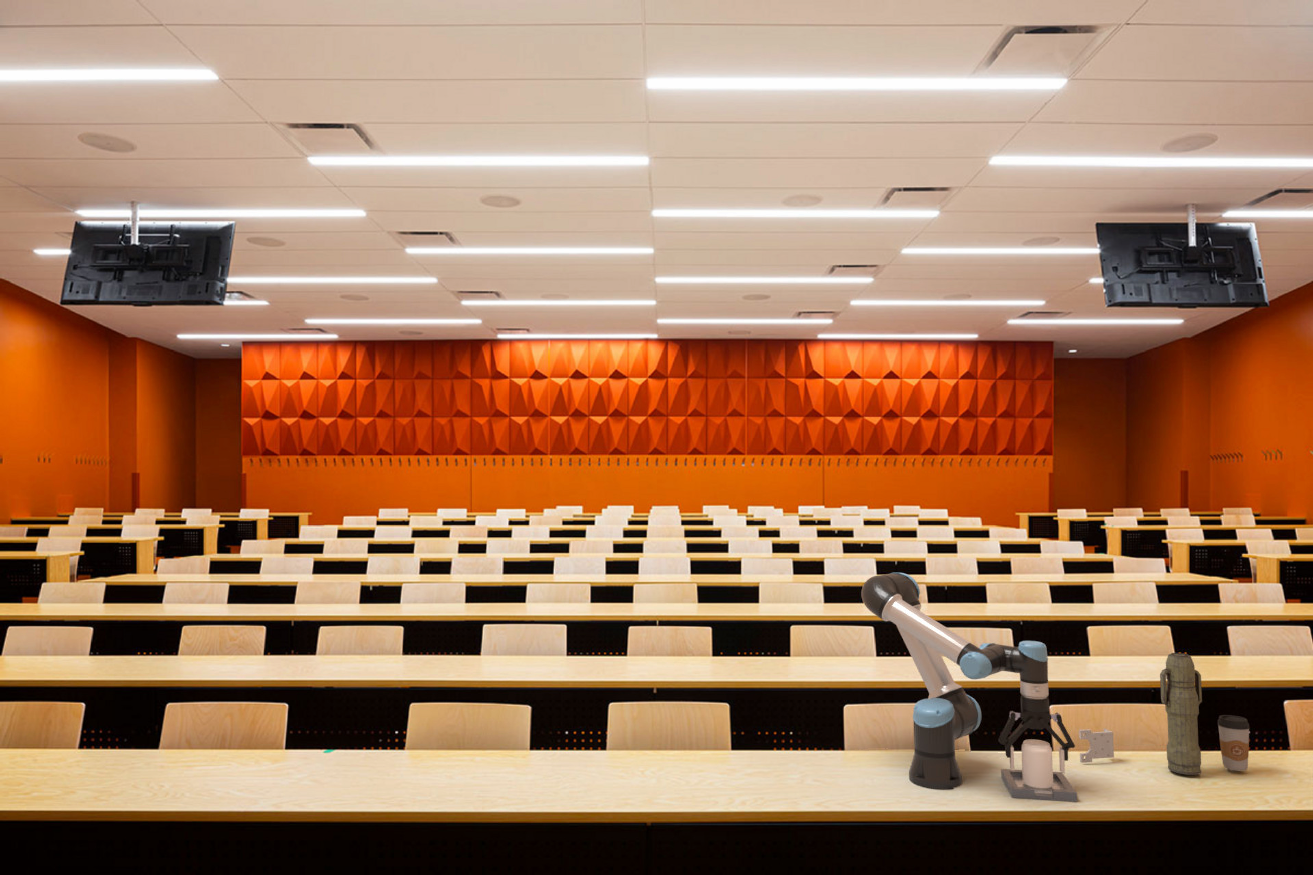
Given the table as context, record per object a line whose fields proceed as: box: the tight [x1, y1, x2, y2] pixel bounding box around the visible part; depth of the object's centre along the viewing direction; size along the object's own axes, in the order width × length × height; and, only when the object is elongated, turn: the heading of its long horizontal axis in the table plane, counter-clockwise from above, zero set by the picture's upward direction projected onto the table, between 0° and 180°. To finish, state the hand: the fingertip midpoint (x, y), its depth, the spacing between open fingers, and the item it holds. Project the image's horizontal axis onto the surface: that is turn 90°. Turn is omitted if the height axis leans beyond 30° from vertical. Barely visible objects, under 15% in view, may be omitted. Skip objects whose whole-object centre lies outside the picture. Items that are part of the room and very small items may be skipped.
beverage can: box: [1021, 738, 1054, 789], centre depth 249 cm, size 8×8×12 cm
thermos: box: [1159, 652, 1203, 776], centre depth 264 cm, size 9×12×35 cm
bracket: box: [1078, 727, 1115, 763], centre depth 275 cm, size 11×4×10 cm, turn 98°
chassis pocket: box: [1000, 768, 1078, 803], centre depth 249 cm, size 17×17×2 cm
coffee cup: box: [1217, 714, 1250, 772], centre depth 265 cm, size 8×8×15 cm
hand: (1037, 770), depth 249 cm, fingers open, 13 cm apart
